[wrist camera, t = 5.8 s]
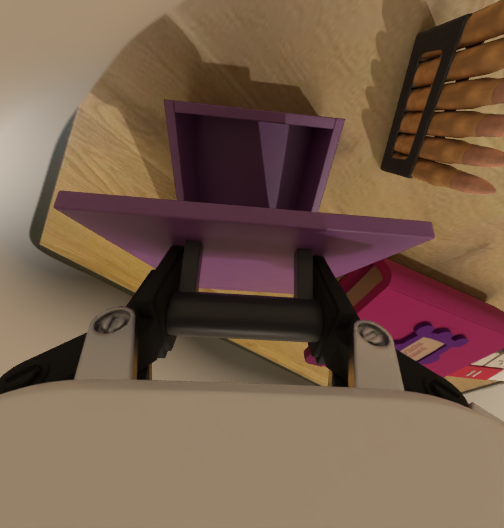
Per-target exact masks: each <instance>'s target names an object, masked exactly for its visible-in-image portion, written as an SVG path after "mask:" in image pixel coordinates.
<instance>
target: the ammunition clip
mask: <svg viewBox="0 0 504 528" xmlns="http://www.w3.org/2000/svg"><path fill="white" fill-rule="evenodd" d="M503 34H504V0H500V1H498V2H496V3H494V4H492V5H490V6H487V7H485V8H483V9H481V10H479V11H477V12H474V13H471V14H466V15H464V16H461V17H459V18H456V19H454V20H451V21H449V22H446V23H444V24H441V25H439V26H436V27H434V28H431V29H429V30H426V31H424V32H421V33H419V34H418V35H417V37H416V40H415V44H414V48H413V51H412V55H411V59H410V62H409V66H408V70H407V73H406V77H405V81H404V84H403V88H402V92H401V95H400V99H399V103H398V107H397V110H396V114H395V118H394V121H393V125H392V129H391V132H390V136H389V140H388V143H387V147H386V151H385V154H384V158H383V162H382V165H381V170H383V171H386V172H390V173H393V174H397V175H400V176H403V177H407V178H415V179H418V180H420V181H423V182H426V183H429V184H432V185H434V186H442V187H447V188H450V189H455V190H458V191H461V192H466V193H472V194H493V193H495V192H496V189H495V187H494V186H493V185H491V184H490V183H489V182H487V181H486V180H484V179H482V178H480V177H477V176H475V175H472V174H468V173H466V172H463V171H460V170H457V169H456V168H454V167H452V166H450V165H447V164H443V163H448V164H453V163H457V164H464V165H471V166H479V167H501V166H504V152H502V151H500V150H497V149H493V148H489V147H483V146H479V145H474V144H469V143H467V142H465V141H463V140H456V139H447V138H445V137H454V138H464V137H481V136H484V137H502V136H504V115H500V114H483V113H480V112H476V111H456V110H457V109H474V108H478V107H481V106H485V105H494V104H499V103H504V78H499V79H496V78H480V79H474V80H469V78H470V77H475V76H481V75H486V74H490V73H493V72H496V71H498V70H501V69H503V68H504V38H501V39H497V40H494V41H491V42H488V43H484V41H485V40H488V39H491V38H494V37H497V36H500V35H503ZM483 43H484V44H483ZM464 47H465V48H466V49H465V50H462V51H458V52H456V50H458V49H461V48H464ZM454 80H456V82H455V83H449V84H444V83H445V82H449V81H454ZM436 110H444V112H434V111H436ZM415 134H416V135H415ZM426 135H432V136H435V137H430V136H426ZM435 161H437V162H435ZM439 162H442V163H439Z"/></svg>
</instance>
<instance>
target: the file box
mask: <svg viewBox="0 0 504 528" xmlns="http://www.w3.org/2000/svg"><path fill="white" fill-rule="evenodd" d="M164 105H165V113H166V121H167V128H168V136H169V143H170V151H171V158H172V166H173V173H174V181H175V189H176V196H177V201H189V202H201V203H213V204H225V205H237V206H248V207H260V208H272V209H284V210H296V211H308V212H318V210H319V207H320V204H321V200H322V197H323V193H324V190H325V186H326V183H327V180H328V176H329V173H330V169H331V166H332V162H333V159H334V156H335V152H336V149H337V145H338V142H339V138H340V135H341V132H342V128H343V125H344V121H345V119H339V118H330V117H321V116H312V115H303V114H294V113H285V112H275V111H266V110H257V109H248V108H239V107H230V106H221V105H212V104H203V103H194V102H185V101H174V100H166V99H164Z"/></svg>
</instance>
